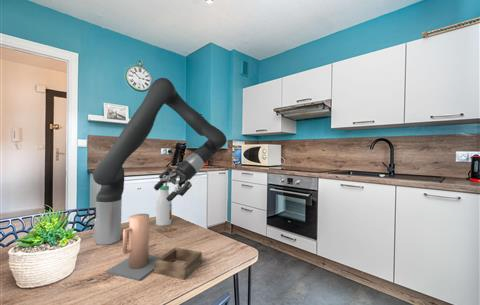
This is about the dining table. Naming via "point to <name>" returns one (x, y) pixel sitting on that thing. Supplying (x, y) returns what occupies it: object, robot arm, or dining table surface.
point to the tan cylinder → (137, 241)
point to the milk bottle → (163, 208)
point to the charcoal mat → (135, 274)
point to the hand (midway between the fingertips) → (161, 194)
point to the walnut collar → (178, 270)
